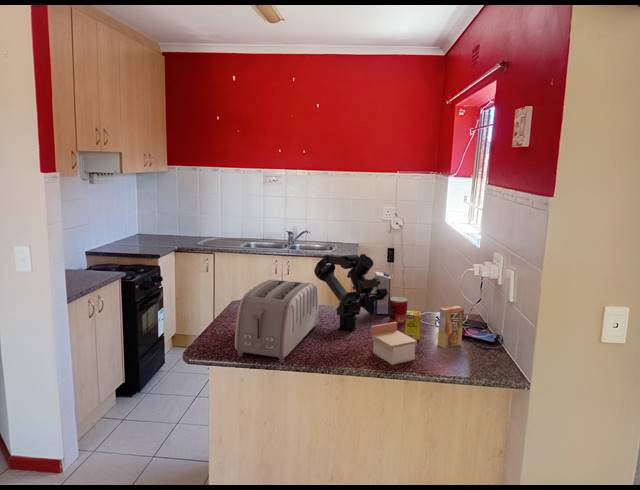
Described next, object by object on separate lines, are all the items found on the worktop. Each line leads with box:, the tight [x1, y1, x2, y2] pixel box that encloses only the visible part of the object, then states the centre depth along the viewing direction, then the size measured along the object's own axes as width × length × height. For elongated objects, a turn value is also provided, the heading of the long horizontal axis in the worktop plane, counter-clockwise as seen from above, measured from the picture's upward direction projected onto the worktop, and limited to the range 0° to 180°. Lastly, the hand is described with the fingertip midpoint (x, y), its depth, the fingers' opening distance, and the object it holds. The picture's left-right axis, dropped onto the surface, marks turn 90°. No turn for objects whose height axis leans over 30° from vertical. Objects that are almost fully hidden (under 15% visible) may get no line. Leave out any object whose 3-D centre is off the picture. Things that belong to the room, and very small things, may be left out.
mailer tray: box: [372, 341, 416, 366], centre depth 175 cm, size 12×10×6 cm
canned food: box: [388, 296, 408, 326], centre depth 212 cm, size 8×8×11 cm
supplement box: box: [404, 310, 422, 342], centre depth 193 cm, size 6×6×11 cm
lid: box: [370, 322, 418, 352], centre depth 175 cm, size 13×11×5 cm
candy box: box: [437, 305, 465, 349], centre depth 186 cm, size 9×4×15 cm, turn 116°
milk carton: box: [373, 271, 392, 317], centre depth 223 cm, size 7×7×20 cm
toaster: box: [234, 279, 320, 363], centre depth 187 cm, size 21×45×22 cm, turn 163°
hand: (373, 314), depth 186 cm, fingers closed
